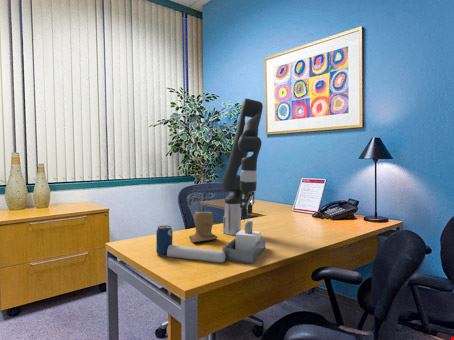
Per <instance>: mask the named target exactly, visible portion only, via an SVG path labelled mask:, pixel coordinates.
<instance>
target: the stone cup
mask: <svg viewBox="0 0 454 340" xmlns="http://www.w3.org/2000/svg"><path fill="white" fill-rule="evenodd" d="M193 222H194V225H195V233H194V234H191V235H189V237H188V239H189V240H190V241H191V243H200V242H206V241H212V240H216V239H218V238H219V237H218V236H217V235H215V234H213V232H212V230H213V225H214V213H213V212H212V211H195V212H194V215H193Z"/></svg>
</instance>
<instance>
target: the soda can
mask: <svg viewBox="0 0 454 340" xmlns="http://www.w3.org/2000/svg"><path fill="white" fill-rule="evenodd" d="M173 233H174V232H173V229H172V226H171V225H158V226H157V229H156V239H155V240H156V241H155V242H156V243H155V244H156V245H155V249H156V250H155V252H156V254H157V255H158V256H159V257H160V256H161V257H168V256H167V250H168V246H169V245H173Z"/></svg>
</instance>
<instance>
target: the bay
mask: <svg viewBox="0 0 454 340" xmlns="http://www.w3.org/2000/svg"><path fill="white" fill-rule="evenodd" d="M265 249H266V237H263V238H261V241H260V242H259V243H258V244H257V245H256V246H255V247H254V248H253V249H252V250H251V251H247V250H239V249H235V238H233V240H231V241H230V242H228V243H227V244H226V245H225V246H223V247H222V250H221V251H223V252H224V253H225V257H226V258H225V261H224V262H234V263H242V264H249V265H253V264H254V263H255V262H256V261H257V259H258V258H259V257H260V255H261V254H262V253H263V252H264V251H265Z"/></svg>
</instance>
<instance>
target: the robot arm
mask: <svg viewBox="0 0 454 340" xmlns="http://www.w3.org/2000/svg"><path fill="white" fill-rule="evenodd" d="M263 108H264V106H263V103H262V102H261V101H259V100H256V99H255V100H254V99H250V98H244V99H243V101H242V103H241V107H240V112H239V117H238V121H237V123H238V124H237V127H236V131H235V135H234V139H233V142H232V147H231V150H230V151H231V152H230V155H229V160H228V163H227V166H226V170H225V172H224V174H223V178H222V182H221V185H222V189H223V190H224V192H225V191H226V192H229V193H228V195H226V197H225V198H224V216H223V222H222V224H223V225H222V227H223V228H222V234H225V235H230V236H236V233H238V232H239V231H240V230H242V228H241V227H242V225H241V224H242V218H247V217H248V215H252V214H253V206H254V204H255V192H256V191H257V186H258V185H257V179H258V177H257V176H258V174H257V169H258V167H257V165H258V164H257V163H258V157H259V154H260V151H261V148H262V145H263V144H262V143H263V142H262V140H261V138H260V137H259V126H260V122H261V118H262V114H263ZM246 117H247V118H250V119H248V120H247V121H246ZM249 153H252V154H251V156H248V154H249ZM239 168H240V174H238V171H239Z"/></svg>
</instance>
